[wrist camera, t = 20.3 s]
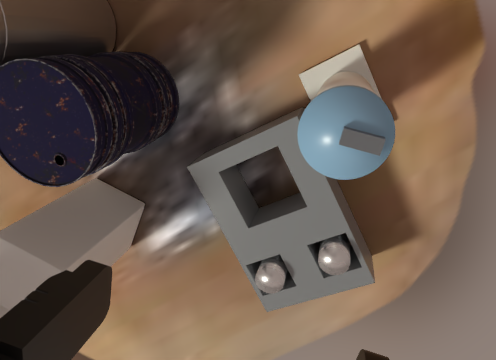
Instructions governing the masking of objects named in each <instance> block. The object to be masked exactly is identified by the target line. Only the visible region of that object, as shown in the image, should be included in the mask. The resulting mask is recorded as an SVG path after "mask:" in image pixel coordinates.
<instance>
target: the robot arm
mask: <svg viewBox="0 0 496 360" xmlns="http://www.w3.org/2000/svg"><path fill="white" fill-rule="evenodd" d="M115 40H116V24H115V18H114V15H113V12H112V9H111V7H110V5H109V3H108V1H107V0H0V66H2V65H4V64H5V63H7V62H9V61H13V60H16V59H28V58H38V57H42V56H51V55H65V54H73V55H80V56H84V57H89V56H91V55H94V54H97V53H100V52H112V50H113V48H114V45H115ZM111 282H112V268H111V267H110V266H108V265H104V264H101V263H98V262H95V261H92V260H86V261H85V262H83V263H82V264H81V265H80V266H79V267H78V268H76V269H75V270H74V271H73V272H71V271H68V270H65V271H63V272H61V273H58V274H56V275H54V276H52V277H49V278H48V279H47V280H46V281H44V282H43V283H42V284H41V285H40V286H38V287H37V288H36V290H35V291H32V292H31V293H30V294H29V295H28V296H26V297H25V299H24V300H21V301H20V302H19V303H18V304H17V305H15V306H14V307H13V308H12V309H11V310H9V311H8V312H7V313H6V314H5V315H3V316H2V317H1V318H0V360H71V359H72V358H73V357H74V356H75V354H76V353H77V352H78V351H79V350H80V348H81V347H82V346H83V345H84V344H85V342H86V341H87V340H88V339H89V338H90V336H91V335H92V334H93V333H94V332H95V330H96V329H97V328H98V327H99V326H100V324H101V323H102V322H103V320H104V319H105V317H106V315H107V312H108V310H109V306H110V297H111ZM356 360H389V358H388V357H385V356H382V355H379V354H376V353H373V352H370V351H367V350H364V349H362V350H361V351H360V353H359V355H358V357H357V359H356Z"/></svg>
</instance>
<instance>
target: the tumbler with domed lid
mask: <svg viewBox="0 0 496 360" xmlns="http://www.w3.org/2000/svg"><path fill="white" fill-rule="evenodd" d="M297 136H298V144H299V148H300V151H301V153H302V155H303V157H304V158H305V160H306V161H307V163H308V164H309V165H310V166H311V167H312V168H313V169H315V170H316V171H317V172H319V173H321V174H323V175H325V176H327V177H330V178H334V179H340V180H350V179H356V178H360V177H363V176H365V175H368V174H369V173H371V172H373V171H374V170H376V169H377V168H378V167H379V166H380V165H381V164H382V163H383V162H384V161H385V160H386V159H387V157H388V155H389V154H390V152H391V150H392V147H393V144H394V139H395V124H394V120H393V117H392V114H391V112H390V110H389V109H388V107H387V105H386V104H385V103H384V101H383V100H382V99H381V98H380V97H379V96H378V95H377V94H376V93H375V92H374V90H373V88H372V86H371V85H370V83H369V82H368V81H367V79H366V78H364V77H363V76H362V75H360V74H358V73H355V72H349V71H345V72H339V73H336V74H334V75H332V76H331V77H329V78H328V79H327V80H326V81H325V82H324V83H323V85H322V86H321V88H320V90H319V92H318V93H317V95H316V97H315V98H314V99H313V100H312V101H311V102H310V103H309V104H308V106H307V107H306V109H305V110H304V112H303V114H302V116H301V118H300V121H299V125H298V133H297Z"/></svg>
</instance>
